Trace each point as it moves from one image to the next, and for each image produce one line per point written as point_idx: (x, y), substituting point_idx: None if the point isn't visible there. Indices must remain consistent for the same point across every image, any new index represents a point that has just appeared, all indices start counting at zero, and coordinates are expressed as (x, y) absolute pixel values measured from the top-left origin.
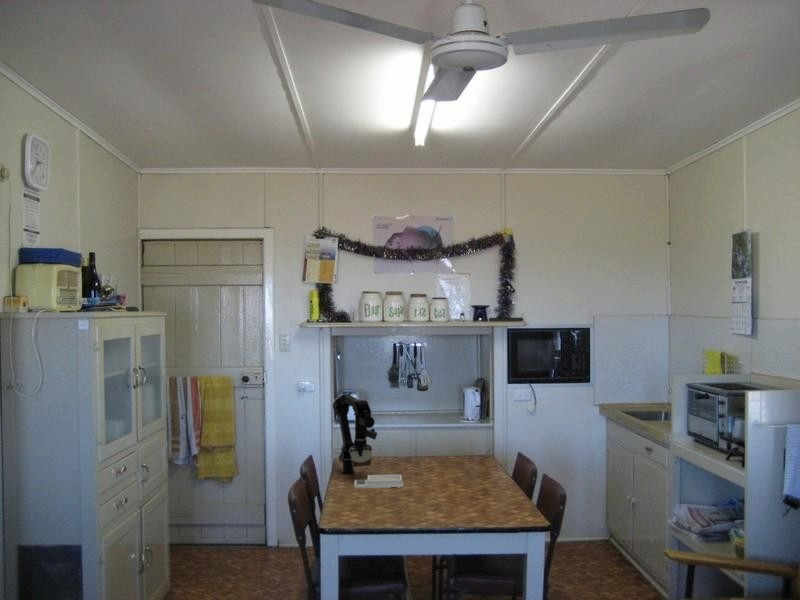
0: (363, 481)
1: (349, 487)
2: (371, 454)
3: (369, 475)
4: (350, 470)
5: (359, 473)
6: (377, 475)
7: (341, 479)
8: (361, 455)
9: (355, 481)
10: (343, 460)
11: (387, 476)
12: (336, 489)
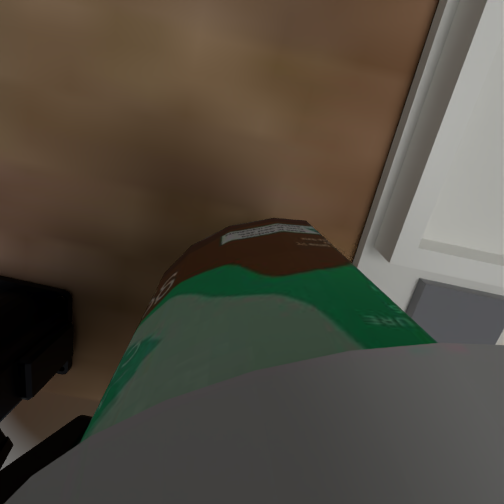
0: (469, 307)
1: None
2: (397, 308)
3: (417, 248)
4: (61, 330)
5: (69, 248)
6: (451, 158)
7: None
8: None
9: None
10: (2, 457)
11: (497, 24)
12: None
